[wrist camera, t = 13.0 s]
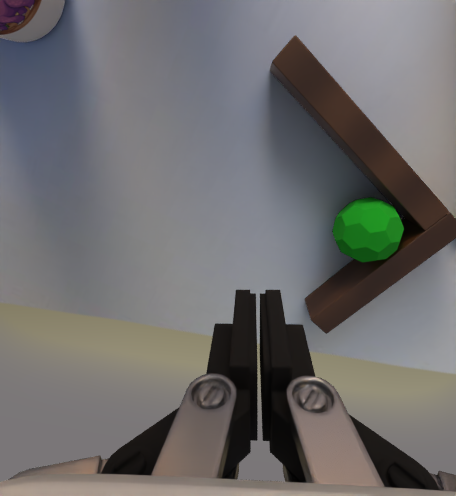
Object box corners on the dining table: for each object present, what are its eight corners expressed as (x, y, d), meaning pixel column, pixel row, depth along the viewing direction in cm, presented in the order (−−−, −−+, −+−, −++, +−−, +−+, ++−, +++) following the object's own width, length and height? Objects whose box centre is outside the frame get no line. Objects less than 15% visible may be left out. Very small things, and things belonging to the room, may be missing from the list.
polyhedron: (361, 179, 25) (385, 191, 21) (400, 219, 26) (430, 239, 22) (315, 223, 27) (327, 242, 23) (353, 259, 28) (372, 285, 24)
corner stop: (174, 180, 27) (163, 188, 23) (289, 46, 22) (295, 34, 19) (318, 311, 30) (326, 334, 27) (439, 217, 26) (466, 230, 23)
